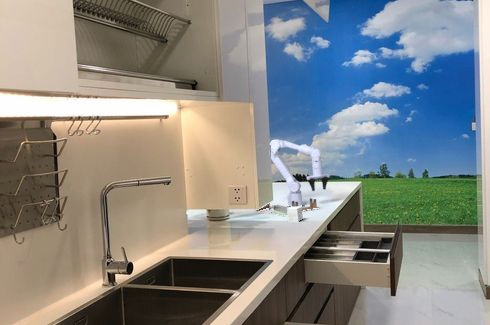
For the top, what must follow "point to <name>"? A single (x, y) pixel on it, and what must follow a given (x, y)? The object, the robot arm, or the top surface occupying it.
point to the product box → (294, 214)
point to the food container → (264, 207)
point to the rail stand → (312, 205)
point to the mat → (279, 213)
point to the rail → (280, 208)
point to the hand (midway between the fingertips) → (318, 190)
